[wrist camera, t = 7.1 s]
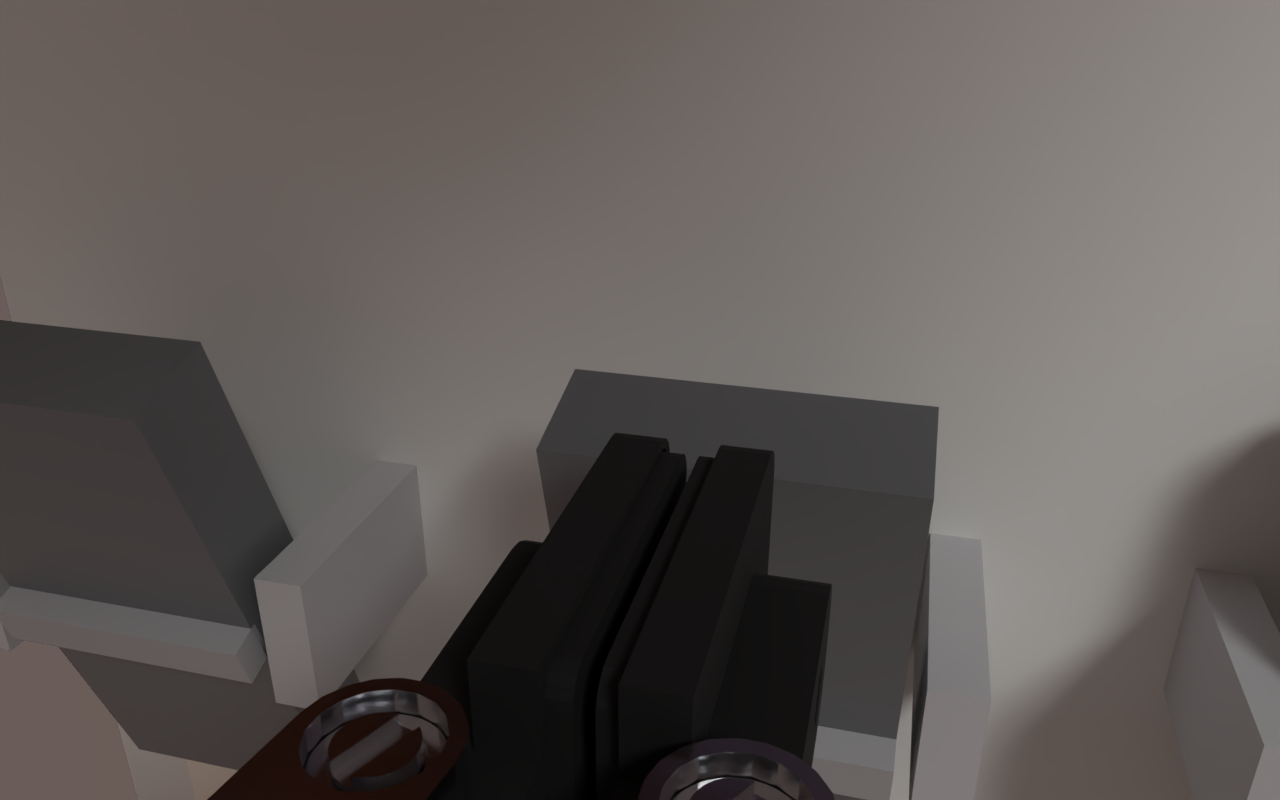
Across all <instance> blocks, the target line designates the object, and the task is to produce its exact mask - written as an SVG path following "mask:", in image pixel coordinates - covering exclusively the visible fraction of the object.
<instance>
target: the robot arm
mask: <svg viewBox="0 0 1280 800" xmlns="http://www.w3.org/2000/svg"><path fill="white" fill-rule="evenodd" d="M774 465H775V458H774V451H770V450H762V449H753V448H744V447H736V446H727V445H721V446H720V447H719V449H718V452H717V454H716V456H715V458H712V457H704V456H699V457H698V459H697V461H696V463H695V465H694V467H693V470H692V472H691V474H690V476H689V478H688V481H687V483H686V476H687V462H686V456H685V454H679V453H670V448H669V442H668V440H667V439H666V438H658V437H650V436H641V435H632V434H624V433H614V434H613V435H612V437H611V438H610V440H609V441H608V443H607V444H606V446H605V447H604V449H603V451H602V452H601V454H600V455H599V457H598V458H597V460H596V461H595V463H594V464H593V466H592V467H591V469H590V471H589V472H588V474H587V475H586V477H585V478H584V480H583V481H582V483H581V484H580V486H579V488H578V489H577V491H576V492H575V494H574V495H573V497H572V498H571V500H570V501H569V503H568V504H567V506H566V508H565V509H564V511H563V512H562V514H561V515H560V517H559V518H558V520H557V521H556V523H555V524H554V526H553V528H552V529H551V531H550V532H549V534H548V535H547V537H546V538H545V540H544V541H543V543H542V542H535V541H528V540H524V541H519V542H518V543H517V544H516V545H515V546H514V547H513V548H512V549H511V551H510V552H509V554H508V555H507V557H506V558H505V560H504V561H503V562H502V564H501V565H500V567H499V568H498V570H497V571H496V573H495V574H494V575H493V577H492V578H491V580H490V581H489V583H488V584H487V586H486V587H485V588H484V590H483V591H482V593H481V594H480V596H479V597H478V599H477V600H476V601H475V603H474V604H473V606H472V607H471V609H470V610H469V612H468V613H467V614H466V616H465V617H464V619H463V620H462V622H461V623H460V625H459V626H458V627H457V629H456V630H455V632H454V633H453V635H452V636H451V638H450V639H449V640H448V642H447V643H446V645H445V646H444V648H443V649H442V650H441V652H440V653H439V655H438V656H437V658H436V659H435V661H434V662H433V663H432V665H431V666H430V668H429V669H428V671H427V672H426V674H425V675H424V676H423V678H422V679H421V681H418V680H412V679H407V678H383V679H372V680H368V681H364V682H359V683H355V684H351V685H347V686H345V687H342V688H340V689H338V690H336V691H333V692H331V693H329V694H327V695H325V696H322V697H321V698H319V699H318V700H317V701H315V702H314V703H312V704H311V705H310V706H308V707H307V708H306V709H304V710H303V711H302V712H300V713H299V714H298V715H297V716H296V717H295V718H294V719H293V720H292V721H290V722H289V723H288V724H287V725H286V726H285V727H284V728H283V729H282V730H281V731H280V732H279V733H278V734H277V735H276V736H274V737H273V738H272V739H271V740H270V741H269V742H268V743H267V744H266V745H265V746H264V747H263V748H262V749H261V750H260V751H258V752H257V753H256V754H255V755H254V756H253V757H252V758H251V759H250V760H249V761H248V762H247V763H246V764H245V765H243V766H242V767H241V768H240V769H239V770H238V771H237V772H236V773H235V774H234V775H233V776H232V777H231V778H230V779H229V780H227V781H226V782H225V783H224V784H223V785H222V786H221V787H220V788H219V789H218V790H217V791H216V792H215V793H214V794H213V795H211V796H210V797H209V798H208V799H207V800H835V799H834V796H833V793H832V791H831V790H830V789H829V787H828V786H827V784H826V783H825V782H824V780H823V779H822V778H821V776H820V775H819V774H818V772H817V771H816V770H814V769H813V768H812V762H813V756H814V749H815V742H816V735H817V728H818V721H819V713H820V705H821V697H822V689H823V680H824V671H825V661H826V651H827V641H828V630H829V619H830V608H831V596H832V584H829V583H822V582H815V581H808V580H801V579H794V578H787V577H780V576H773V575H768V562H769V546H770V531H771V515H772V499H773V483H774Z"/></svg>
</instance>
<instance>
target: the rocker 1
mask: <svg viewBox="0 0 1280 800" xmlns="http://www.w3.org/2000/svg"><path fill="white" fill-rule="evenodd" d="M292 541H294V540H293V538H292V536H291V534H290V532H289V530H288V528H287V525H286V523H285V521H284V519H283V517H282V515H281V513H280V511H279V508H278V506H277V504H276V502H275V500H274V498H273V496H272V494H271V491H270V489H269V487H268V485H267V483H266V481H265V479H264V476H263V474H262V472H261V470H260V468H259V466H258V464H257V462H256V459H255V457H254V455H253V453H252V451H251V449H250V447H249V445H248V442H247V440H246V438H245V436H244V434H243V432H242V430H241V427H240V425H239V423H238V421H237V419H236V417H235V415H234V413H233V410H232V408H231V406H230V404H229V402H228V400H227V398H226V395H225V393H224V391H223V389H222V387H221V385H220V383H219V381H218V378H217V376H216V374H215V372H214V370H213V368H212V366H211V364H210V361H209V359H208V357H207V355H206V353H205V351H204V349H203V346H202V344H201V342H199V341H189V340H180V339H171V338H161V337H152V336H143V335H133V334H124V333H115V332H106V331H96V330H87V329H78V328H68V327H59V326H50V325H41V324H31V323H22V322H13V321H3V320H0V573H1V574H2V576H3V577H4V578H5V579H6V581H7V582H8V583H9V585H10V586H11V587H10V588H9V589H8V590H7V591H6V593H5V594H4V595H3V596H2V597H1V599H0V622H1V623H2V624H3V625H4V627H5V628H6V629H7V630H8V631H9V633H10V634H11V635H12V636H13V638H15V639H20V640H26V641H31V642H37V643H42V644H47V645H52V646H57V647H59V648H60V649H61V650H62V652H63V653H64V654H65V656H66V657H67V658H68V659H69V661H70V662H71V663H72V665H73V666H74V667H75V668H76V669H77V671H78V672H79V673H80V675H81V676H82V677H83V679H84V680H85V681H86V682H87V684H88V685H89V686H90V687H91V689H92V690H93V691H94V692H95V694H96V695H97V696H98V697H99V699H100V700H101V701H102V703H103V704H104V705H105V706H106V708H107V709H108V710H109V712H110V713H111V714H112V715H113V717H114V718H115V719H116V720H117V722H118V723H119V724H120V726H121V727H122V728H123V729H124V731H125V732H126V733H127V734H128V736H129V737H130V738H131V740H132V741H133V742H134V743H135V745H136V746H137V747H138V748H139V749H141V750H145V751H150V752H155V753H159V754H164V755H169V756H173V757H178V758H183V759H188V760H192V761H197V762H202V763H206V764H211V765H216V766H220V767H225V768H230V769H234V770H239V769H240V768H241V767H242V766H243V765H245V764H246V763H247V762H248V761H249V760H250V759H251V758H252V757H253V756H254V755H255V754H256V753H257V752H258V751H260V750H261V749H262V748H263V747H264V746H265V745H266V744H267V743H268V742H269V741H270V740H271V739H272V738H273V737H274V736H276V735H277V734H278V733H279V732H280V731H281V730H282V729H283V728H284V727H285V726H286V725H287V724H288V723H289V722H290V721H292V720H293V719H294V718H295V717H296V716H297V715H298V714H299V713H300V712H302V711H303V710H304V709H306V708H301V707H296V706H291V705H285V704H280V703H276V700H275V695H274V689H273V683H272V678H271V672H270V667H269V661H268V656H267V650H266V645H265V639H264V634H263V628H262V623H261V617H260V612H259V606H258V601H257V595H256V589H255V584H254V578H255V577H256V576H257V575H258V574H259V573H260V572H261V571H262V570H263V569H264V568H265V567H266V566H267V565H268V564H269V563H271V562H272V561H273V560H274V559H275V558H276V557H277V556H278V555H279V554H280V553H281V552H282V551H283V550H284V549H285V548H286V547H287V546H288V545H289V544H290V543H291V542H292ZM359 682H360V681H359V679H358V677H357V675H356V673H355V670H354V669H353V670H352V671H351V673H350V674H349V675H348V677H347V678H346V679H345V680H344V682H343V683H342V684H341V685H340V687H339V688H338V689H340V688H342V687H345V686H347V685H351V684H355V683H359ZM338 689H337V690H338Z"/></svg>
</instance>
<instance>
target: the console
mask: <svg viewBox="0 0 1280 800" xmlns="http://www.w3.org/2000/svg"><path fill="white" fill-rule="evenodd" d="M0 278H1V282H2V286H3V290H4V293H5V297H6V301H7V305H8V309H9V312H10V316H11V320H12V321H13V322H22V323H31V324H41V325H50V326H59V327H68V328H78V329H87V330H96V331H106V332H115V333H124V334H133V335H143V336H152V337H161V338H171V339H180V340H189V341H199V342H201V344H202V346H203V349H204V351H205V353H206V355H207V357H208V359H209V361H210V364H211V366H212V368H213V370H214V372H215V374H216V376H217V378H218V381H219V383H220V385H221V387H222V389H223V391H224V393H225V395H226V398H227V400H228V402H229V404H230V406H231V408H232V410H233V413H234V415H235V417H236V419H237V421H238V423H239V425H240V427H241V430H242V432H243V434H244V436H245V438H246V440H247V442H248V445H249V447H250V449H251V451H252V453H253V455H254V457H255V459H256V462H257V464H258V466H259V468H260V470H261V472H262V474H263V476H264V479H265V481H266V483H267V485H268V487H269V489H270V491H271V494H272V496H273V498H274V500H275V502H276V504H277V506H278V508H279V511H280V513H281V515H282V517H283V519H284V521H285V523H286V525H287V528H288V530H289V532H290V534H291V536H292V538H293V540H294V541H292V542H291V543H290V544H289V545H288V546H287V547H286V548H285V549H284V550H283V551H282V552H281V553H280V554H279V555H278V556H277V557H276V558H275V559H274V560H273V561H272V562H271V563H269V564H268V565H267V566H266V567H265V568H264V569H263V570H262V571H261V572H260V573H259V574H258V575H257V576H256V577H255V578H254V584H255V589H256V595H257V601H258V606H259V612H260V617H261V623H262V628H263V634H264V639H265V645H266V650H267V656H268V661H269V667H270V672H271V678H272V683H273V689H274V695H275V700H276V703H280V704H285V705H291V706H296V707H301V708H307V707H308V706H310V705H311V704H312V703H314V702H315V701H317V700H318V699H319V698H321V697H322V696H325V695H327V694H329V693H331V692H333V691H336V690H337V689H338V688H339V687H340V685H341V684H342V683H343V682H344V680H345V679H346V678H347V677H348V675H349V674H350V673H351V671H352V670H353V669H354V670H355V673H356V675H357V677H358V679H359V681H360V682H364V681H368V680H372V679H383V678H407V679H412V680H418V681H421V679H422V678H423V676H424V675H425V674H426V672H427V671H428V669H429V668H430V666H431V665H432V663H433V662H434V661H435V659H436V658H437V656H438V655H439V653H440V652H441V650H442V649H443V648H444V646H445V645H446V643H447V642H448V640H449V639H450V638H451V636H452V635H453V633H454V632H455V630H456V629H457V627H458V626H459V625H460V623H461V622H462V620H463V619H464V617H465V616H466V614H467V613H468V612H469V610H470V609H471V607H472V606H473V604H474V603H475V601H476V600H477V599H478V597H479V596H480V594H481V593H482V591H483V590H484V588H485V587H486V586H487V584H488V583H489V581H490V580H491V578H492V577H493V575H494V574H495V573H496V571H497V570H498V568H499V567H500V565H501V564H502V562H503V561H504V560H505V558H506V557H507V555H508V554H509V552H510V551H511V549H512V548H513V547H514V546H515V545H516V544H517V543H518V542H519V541H524V540H528V541H535V542H542V543H543V541H544V540H545V538H546V537H547V535H548V534H549V532H550V529H549V523H548V517H547V511H546V505H545V499H544V493H543V488H542V482H541V476H540V470H539V464H538V458H537V452H536V449H537V447H538V445H539V443H540V440H541V438H542V436H543V434H544V432H545V430H546V428H547V426H548V424H549V422H550V420H551V418H552V416H553V414H554V411H555V409H556V407H557V405H558V403H559V401H560V399H561V397H562V395H563V393H564V391H565V389H566V387H567V385H568V382H569V380H570V378H571V376H572V374H573V372H574V370H575V369H581V370H590V371H600V372H610V373H619V374H629V375H638V376H648V377H657V378H667V379H676V380H686V381H696V382H705V383H715V384H724V385H734V386H743V387H753V388H762V389H772V390H782V391H791V392H801V393H810V394H820V395H829V396H839V397H849V398H858V399H868V400H877V401H887V402H896V403H906V404H915V405H925V406H935V407H939V415H938V433H937V452H936V470H935V489H934V502H933V508H932V515H931V521H930V528H929V534H928V540H927V547H926V553H925V560H924V566H923V572H922V579H921V585H920V592H919V598H918V604H917V611H916V617H915V624H914V630H913V636H912V643H911V649H910V656H909V662H908V668H907V675H906V681H905V688H904V694H903V700H902V707H901V713H900V720H899V726H898V732H897V739H896V751H895V765H894V775H893V781H892V787H891V794H890V800H1280V0H0ZM10 587H11V586H10V585H9V583H8V582H7V581H6V579H5V578H4V577H3V576H2V574H1V573H0V599H1V597H2V596H3V595H4V594H5V593H6V591H7V590H8V589H9V588H10ZM22 641H24V640H20V639H15V638H13V636H12V635H11V634H10V633H9V631H8V630H7V629H6V628H5V627H4V625H3V624H2V623H1V622H0V649H3V650H8V651H11V650H12V649H13V648H15V647H16V646H17V645H19V644H20V643H21V642H22ZM117 723H118V722H117ZM118 727H119V731H120V735H121V738H122V742H123V746H124V750H125V754H126V757H127V761H128V765H129V769H130V773H131V776H132V780H133V784H134V788H135V791H136V796H137V799H138V800H207V799H208V798H209V797H210V796H211V795H213V794H214V793H215V792H216V791H217V790H218V789H219V788H220V787H221V786H222V785H223V784H224V783H225V782H226V781H227V780H229V779H230V778H231V777H232V776H233V775H234V774H235V773H236V772H237V771H238V770H234V769H230V768H225V767H220V766H216V765H211V764H206V763H202V762H197V761H192V760H188V759H183V758H178V757H173V756H169V755H164V754H159V753H155V752H150V751H145V750H141V749H139V748H138V747H137V746H136V745H135V743H134V742H133V741H132V740H131V738H130V737H129V736H128V734H127V733H126V732H125V731H124V729H123V728H122V727H121V726H120V724H119V723H118Z"/></svg>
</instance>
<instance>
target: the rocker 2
mask: <svg viewBox="0 0 1280 800" xmlns="http://www.w3.org/2000/svg"><path fill="white" fill-rule="evenodd" d="M938 415H939V407H935V406H925V405H915V404H906V403H896V402H887V401H877V400H868V399H858V398H849V397H839V396H829V395H820V394H810V393H801V392H791V391H782V390H772V389H762V388H753V387H743V386H734V385H724V384H715V383H705V382H696V381H686V380H676V379H667V378H657V377H648V376H638V375H629V374H619V373H610V372H600V371H590V370H581V369H575V370H574V372H573V374H572V376H571V378H570V380H569V382H568V385H567V387H566V389H565V391H564V393H563V395H562V397H561V399H560V401H559V403H558V405H557V407H556V409H555V411H554V414H553V416H552V418H551V420H550V422H549V424H548V426H547V428H546V430H545V432H544V434H543V436H542V438H541V440H540V443H539V445H538V447H537V449H536V452H537V458H538V464H539V470H540V476H541V482H542V488H543V493H544V499H545V505H546V511H547V517H548V523H549V529H550V531H551V529H552V528H553V526H554V524H555V523H556V521H557V520H558V518H559V517H560V515H561V514H562V512H563V511H564V509H565V508H566V506H567V504H568V503H569V501H570V500H571V498H572V497H573V495H574V494H575V492H576V491H577V489H578V488H579V486H580V484H581V483H582V481H583V480H584V478H585V477H586V475H587V474H588V472H589V471H590V469H591V467H592V466H593V464H594V463H595V461H596V460H597V458H598V457H599V455H600V454H601V452H602V451H603V449H604V447H605V446H606V444H607V443H608V441H609V440H610V438H611V437H612V435H613V434H614V433H624V434H632V435H641V436H650V437H658V438H666V439H667V440H668V442H669V448H670V453H679V454H685V456H686V462H687V476H686V483H687V481H688V478H689V476H690V474H691V472H692V470H693V467H694V465H695V463H696V461H697V459H698V457H699V456H704V457H712V458H715V456H716V454H717V452H718V449H719V447H720V446H721V445H727V446H736V447H744V448H753V449H762V450H770V451H774V458H775V465H774V483H773V499H772V515H771V531H770V546H769V562H768V575H773V576H780V577H787V578H794V579H801V580H808V581H815V582H822V583H829V584H832V596H831V608H830V619H829V630H828V641H827V651H826V661H825V671H824V680H823V689H822V697H821V705H820V713H819V721H818V728H817V735H816V742H815V749H814V756H813V762H812V768H813V769H814V770H816V771H817V772H818V774H819V775H820V776H821V778H822V779H823V780H824V782H825V783H826V784H827V786H828V787H829V789H830V790H831V791H832V793H833V796H834V799H835V800H890V794H891V787H892V781H893V775H894V765H895V751H896V739H897V732H898V726H899V720H900V713H901V707H902V700H903V694H904V688H905V681H906V675H907V668H908V662H909V656H910V649H911V643H912V636H913V630H914V624H915V617H916V611H917V604H918V598H919V592H920V585H921V579H922V572H923V566H924V560H925V553H926V547H927V540H928V534H929V528H930V521H931V515H932V508H933V502H934V489H935V470H936V452H937V433H938Z"/></svg>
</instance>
